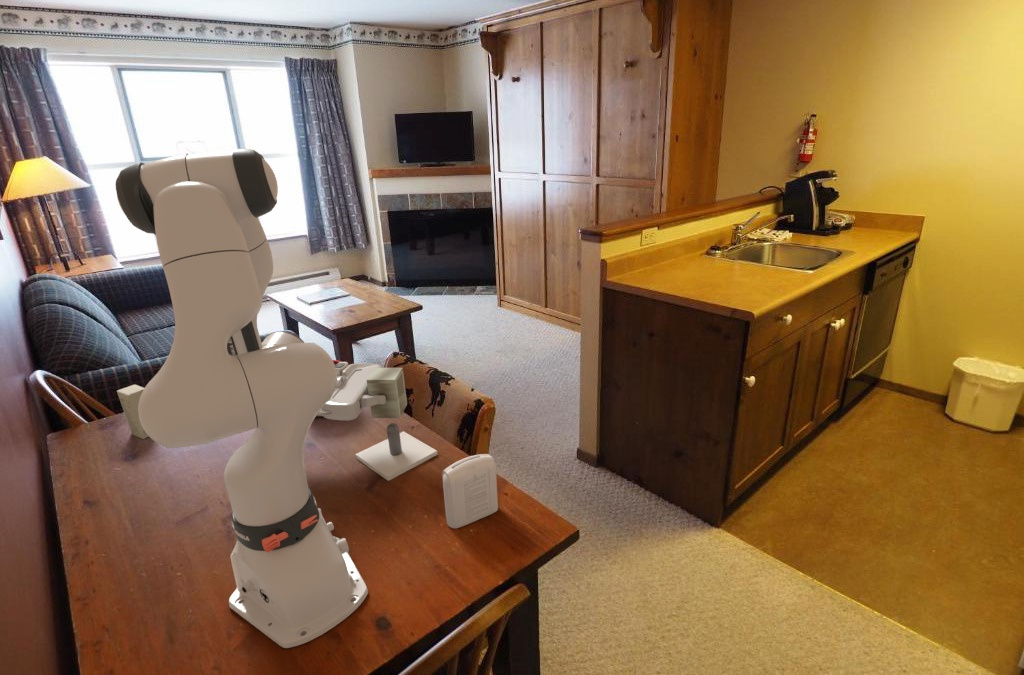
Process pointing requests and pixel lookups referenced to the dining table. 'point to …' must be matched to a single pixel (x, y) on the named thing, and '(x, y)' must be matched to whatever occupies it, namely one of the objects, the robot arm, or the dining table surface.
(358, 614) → the dining table surface
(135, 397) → the skincare box
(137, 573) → the dining table surface
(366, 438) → the dining table surface
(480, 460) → the photo printer
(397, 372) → the sage recessed panel box
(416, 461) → the post stand
